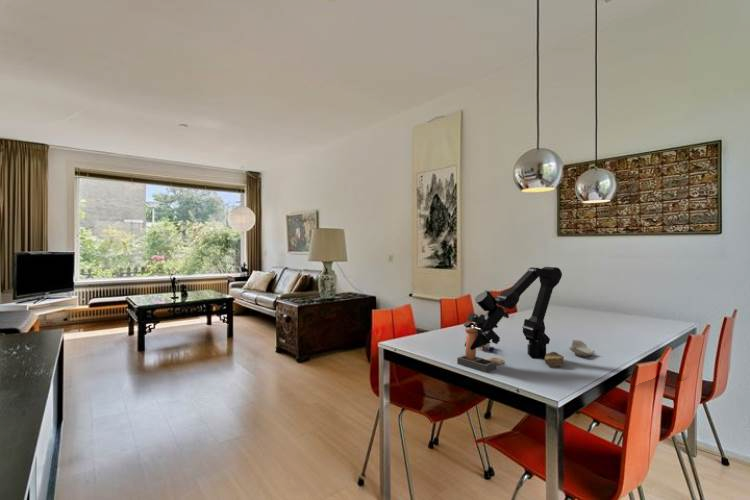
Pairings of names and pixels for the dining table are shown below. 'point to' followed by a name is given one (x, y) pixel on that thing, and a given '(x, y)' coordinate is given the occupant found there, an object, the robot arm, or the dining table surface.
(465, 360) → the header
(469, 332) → the plug
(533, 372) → the dining table surface
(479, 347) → the toy
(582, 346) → the pottery shard
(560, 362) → the stone
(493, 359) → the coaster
